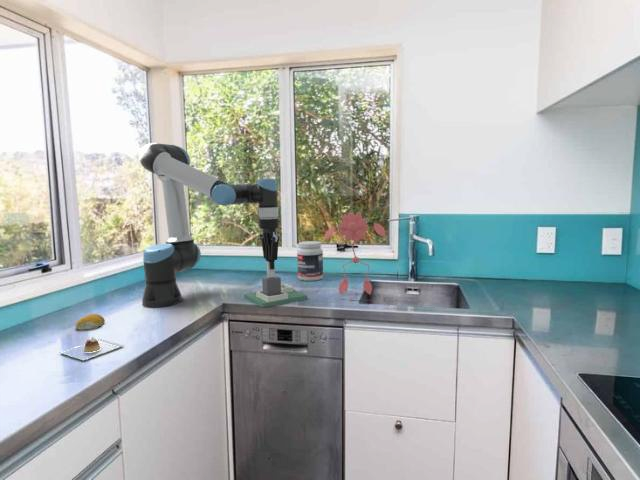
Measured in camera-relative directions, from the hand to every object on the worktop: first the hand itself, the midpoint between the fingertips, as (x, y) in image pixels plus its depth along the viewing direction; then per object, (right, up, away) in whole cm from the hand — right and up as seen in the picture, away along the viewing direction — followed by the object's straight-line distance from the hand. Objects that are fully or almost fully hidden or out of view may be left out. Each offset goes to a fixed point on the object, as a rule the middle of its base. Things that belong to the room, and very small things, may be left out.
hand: (271, 276), depth 165 cm
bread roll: (-59, -15, -24) cm, 65 cm away
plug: (0, -8, +1) cm, 8 cm away
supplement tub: (+15, -5, +41) cm, 44 cm away
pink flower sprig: (+34, -9, +6) cm, 36 cm away
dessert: (-46, -18, -47) cm, 68 cm away
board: (+1, -9, +5) cm, 11 cm away
